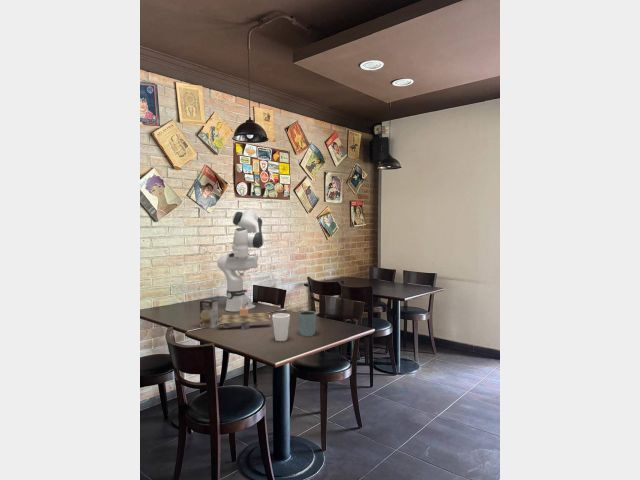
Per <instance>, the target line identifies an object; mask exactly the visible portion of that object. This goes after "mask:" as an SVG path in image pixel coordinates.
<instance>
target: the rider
mask: <svg viewBox="0 0 640 480" xmlns="http://www.w3.org/2000/svg"><path fill="white" fill-rule="evenodd" d="M239 314H240V316H248V314H249V310H248V307H245V306H243V307H240V311H239Z"/></svg>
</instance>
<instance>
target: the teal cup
mask: <svg viewBox="0 0 640 480" xmlns="http://www.w3.org/2000/svg"><path fill="white" fill-rule="evenodd" d="M316 322H317V312H316V311H313V310H302V311H299V312H298V323H299V324H298V325H299V334H300V336H303V337H311V336H315V335H316V325H317V324H316Z"/></svg>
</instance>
